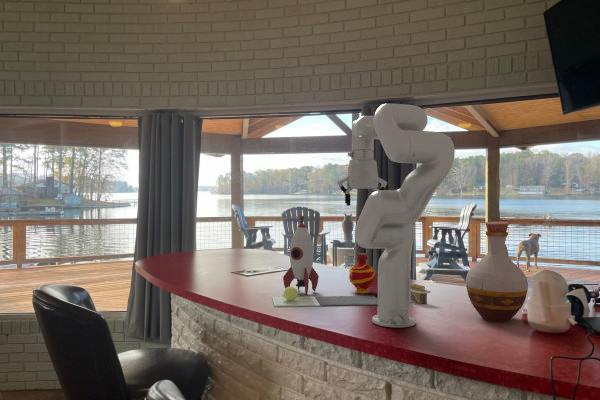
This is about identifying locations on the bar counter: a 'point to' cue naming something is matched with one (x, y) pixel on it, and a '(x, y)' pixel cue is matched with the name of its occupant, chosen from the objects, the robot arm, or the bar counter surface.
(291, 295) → the ball
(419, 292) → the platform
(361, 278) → the potion bottle
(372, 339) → the bar counter surface
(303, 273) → the toy
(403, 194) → the robot arm
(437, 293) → the bar counter surface
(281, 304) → the strip
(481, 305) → the jug
